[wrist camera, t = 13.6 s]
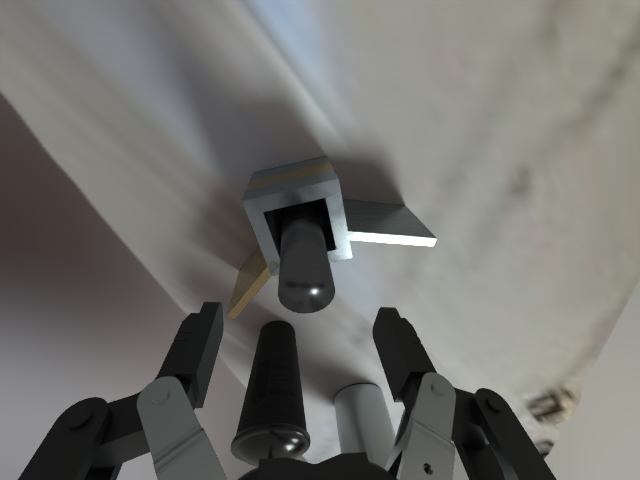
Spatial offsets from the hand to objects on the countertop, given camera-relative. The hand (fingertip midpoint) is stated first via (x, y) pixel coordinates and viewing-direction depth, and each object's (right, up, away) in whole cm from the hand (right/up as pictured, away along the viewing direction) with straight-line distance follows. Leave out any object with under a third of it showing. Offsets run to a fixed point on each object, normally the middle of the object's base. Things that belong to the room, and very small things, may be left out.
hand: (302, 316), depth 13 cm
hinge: (0, +7, +14) cm, 16 cm away
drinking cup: (-5, -9, +24) cm, 26 cm away
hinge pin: (-1, +8, +13) cm, 16 cm away
